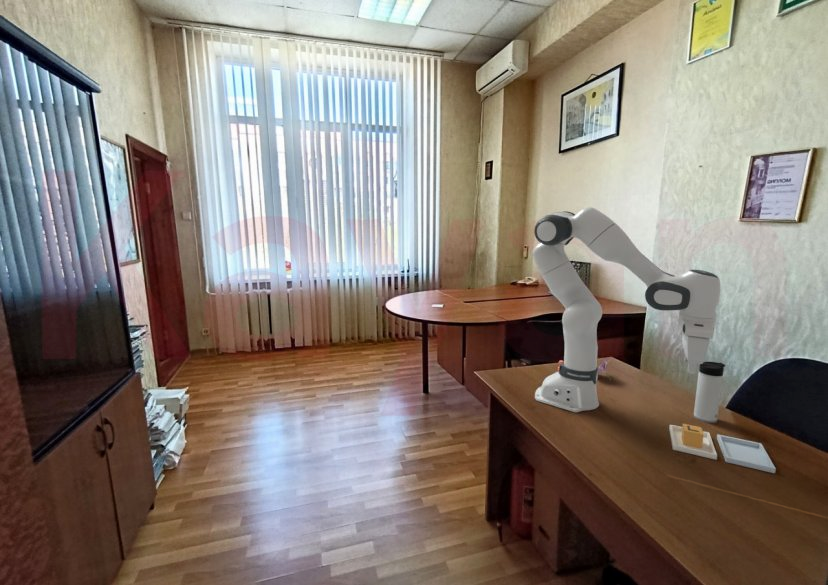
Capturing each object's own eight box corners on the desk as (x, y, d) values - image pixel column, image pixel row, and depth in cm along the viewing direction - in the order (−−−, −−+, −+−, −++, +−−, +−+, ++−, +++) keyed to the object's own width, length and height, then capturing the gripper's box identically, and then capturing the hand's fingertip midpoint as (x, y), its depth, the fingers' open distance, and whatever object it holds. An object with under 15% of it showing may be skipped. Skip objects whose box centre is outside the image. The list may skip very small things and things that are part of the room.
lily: (610, 375, 164) (599, 355, 165) (628, 374, 153) (617, 353, 154) (588, 386, 161) (578, 366, 163) (605, 387, 150) (594, 365, 151)
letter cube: (682, 444, 109) (684, 430, 108) (681, 436, 113) (682, 423, 112) (701, 448, 107) (703, 434, 106) (699, 440, 111) (701, 426, 110)
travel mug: (722, 425, 120) (730, 367, 116) (699, 423, 121) (706, 366, 118) (711, 415, 126) (718, 360, 122) (689, 414, 127) (696, 359, 124)
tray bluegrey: (725, 463, 101) (726, 457, 101) (716, 439, 112) (717, 434, 112) (774, 474, 96) (775, 468, 96) (760, 448, 107) (761, 443, 107)
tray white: (672, 450, 107) (673, 445, 107) (669, 429, 118) (669, 424, 118) (716, 461, 102) (717, 455, 102) (708, 437, 113) (709, 432, 113)
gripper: (680, 315, 120) (674, 355, 123) (686, 331, 103) (679, 377, 106) (704, 317, 117) (698, 358, 120) (714, 334, 100) (707, 381, 103)
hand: (689, 367), depth 113 cm, fingers open, 8 cm apart
